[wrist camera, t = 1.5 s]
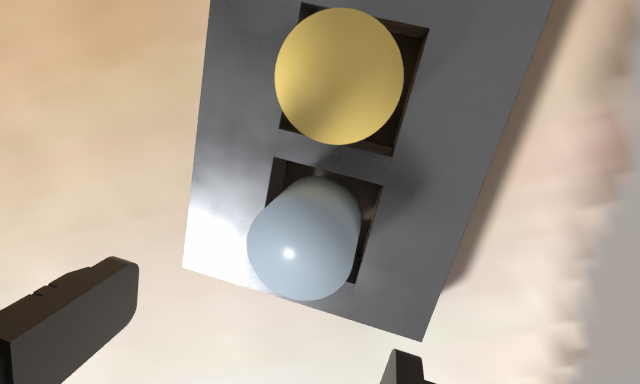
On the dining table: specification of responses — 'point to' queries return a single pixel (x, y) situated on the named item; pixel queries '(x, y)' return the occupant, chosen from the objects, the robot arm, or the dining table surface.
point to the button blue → (306, 239)
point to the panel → (360, 145)
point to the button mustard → (339, 76)
